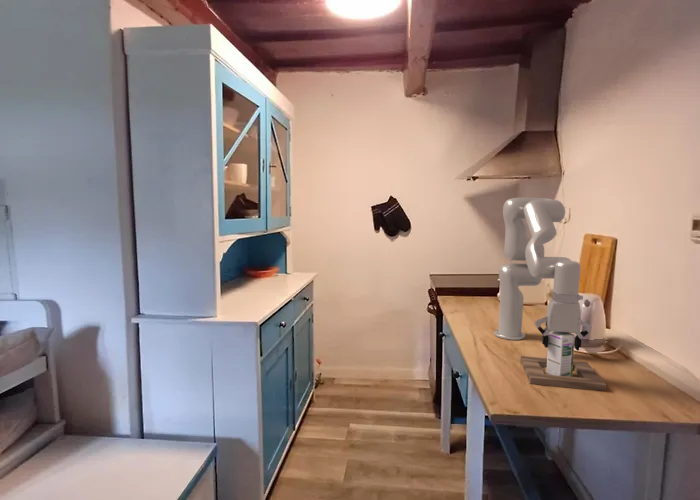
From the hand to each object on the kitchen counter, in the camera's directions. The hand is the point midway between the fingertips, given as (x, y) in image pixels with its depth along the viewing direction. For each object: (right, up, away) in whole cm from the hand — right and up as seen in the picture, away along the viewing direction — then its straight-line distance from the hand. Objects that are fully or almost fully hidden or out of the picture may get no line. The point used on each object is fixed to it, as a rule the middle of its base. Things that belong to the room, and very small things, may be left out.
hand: (560, 347), depth 147 cm
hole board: (0, -9, +1) cm, 9 cm away
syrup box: (0, -10, +1) cm, 10 cm away
